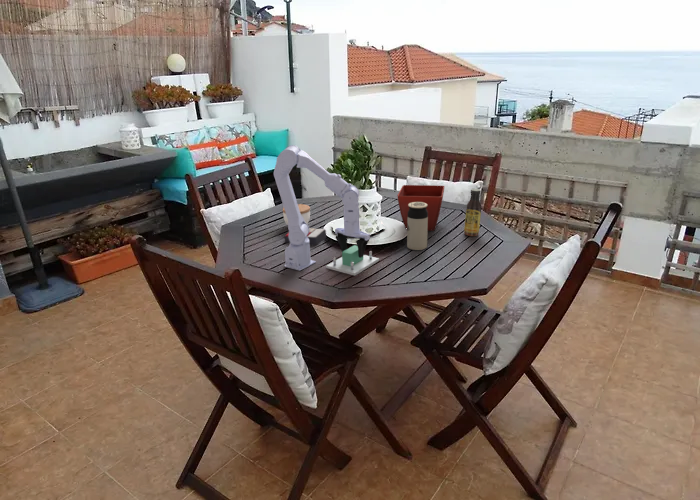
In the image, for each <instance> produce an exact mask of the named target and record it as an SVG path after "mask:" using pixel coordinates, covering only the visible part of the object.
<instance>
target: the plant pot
mask: <svg viewBox="0 0 700 500" xmlns="http://www.w3.org/2000/svg"><path fill="white" fill-rule="evenodd" d="M444 192H445V185H437V184H436V185H430V184H427V185H425V184H423V185H422V184H420V185H419V184H418V185H417V184H404V185H403V184H402V186H401V188H400V190H399V191H398V194H397V204H398V208H399V211H400V216H401V220H402V223H403V226H404V229H406V228H407V219H408V211H409V206H408V204H409V203H412V202H424V203H426V204H427V208H426V210H427V212H428V228H427V232H428V231H429V232H434V231H435V230H436V227H437V224H438V220H439V216H440V211H441V207H442V204H443V200H444V199H443V198H444Z"/></svg>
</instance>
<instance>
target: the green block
mask: <svg viewBox="0 0 700 500" xmlns="http://www.w3.org/2000/svg"><path fill="white" fill-rule="evenodd" d="M341 257H342V264H343V265H347V266H351V262H354V265H355V264H357V263H358V262H360V261H362V260H363V257H361V258H359V255H358V246H357V244H356V245H355V244H354V245H352V246H350V247H349V248H348V247H347V249H346V250H345V251H343V252H342V251H341Z"/></svg>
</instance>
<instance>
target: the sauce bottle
mask: <svg viewBox="0 0 700 500" xmlns="http://www.w3.org/2000/svg"><path fill="white" fill-rule="evenodd" d="M481 192H482V190H481V189H480V188H471V189H470V197H469V198H470V199H469V201H468V202H467V204H466V210H465V219H464V227H463V234H464V235H465V236H467V237H477V236H478V235H479V232H480V226H481V219H482V218H481V217H482V203H481V202H480V201H481V200H480V197H481Z"/></svg>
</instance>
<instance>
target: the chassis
mask: <svg viewBox="0 0 700 500" xmlns="http://www.w3.org/2000/svg"><path fill="white" fill-rule="evenodd" d="M332 260H333V261H332V262H330V263H329V264H327V265H326V266H325V268H326V269H327V270H333V271H336V272H340V273H344V274H347V275H351V276H357V275H359V274H360V273H362V272H364V271H365V270H366V269H368V268H370V267H371V266H373V265H374V264H377V263H378V262H379V261H380V258H379V257H375V256H373V251H372V250H370V251H369V255H367V254H364V256H363V260H362V261H360V262H358V263H357V264H355V265H354V262H351V266H347V265H343V264H342V256H341V257H339V258H337V257H335V256H333V258H332Z"/></svg>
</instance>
